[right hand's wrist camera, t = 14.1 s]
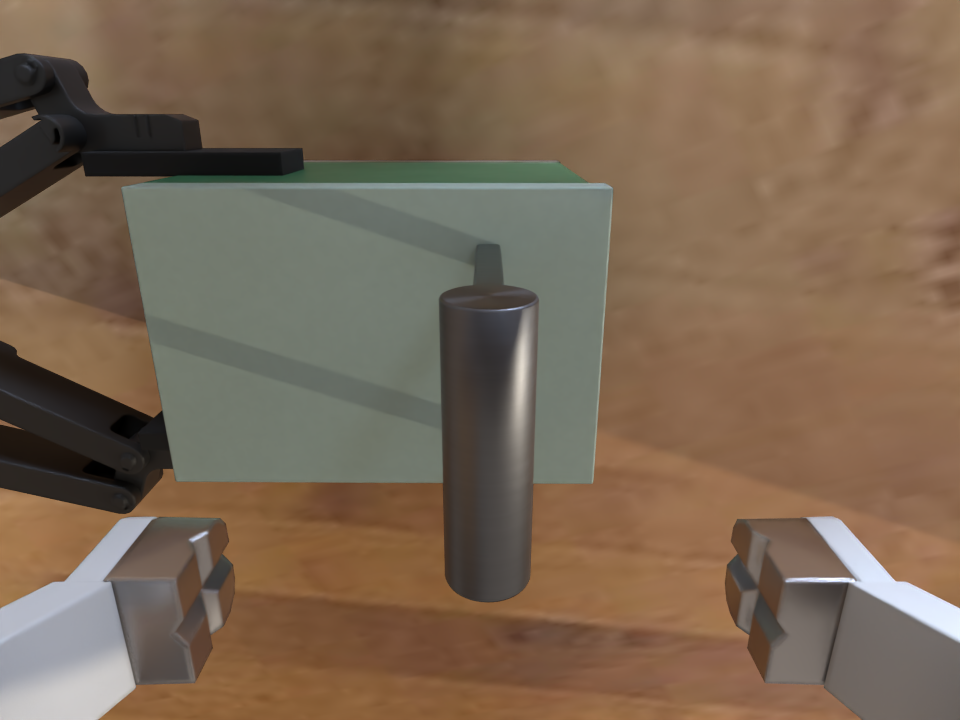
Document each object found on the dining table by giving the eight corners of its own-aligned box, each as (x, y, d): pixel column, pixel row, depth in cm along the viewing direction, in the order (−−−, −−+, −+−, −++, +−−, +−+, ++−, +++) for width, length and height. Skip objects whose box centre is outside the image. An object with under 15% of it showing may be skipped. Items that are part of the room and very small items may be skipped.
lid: (606, 182, 19) (689, 231, 11) (588, 466, 23) (642, 656, 15) (140, 182, 19) (-97, 230, 12) (189, 464, 23) (32, 651, 15)
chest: (557, 160, 28) (590, 182, 19) (549, 364, 32) (574, 466, 23) (251, 160, 29) (140, 182, 19) (275, 364, 32) (190, 464, 23)
